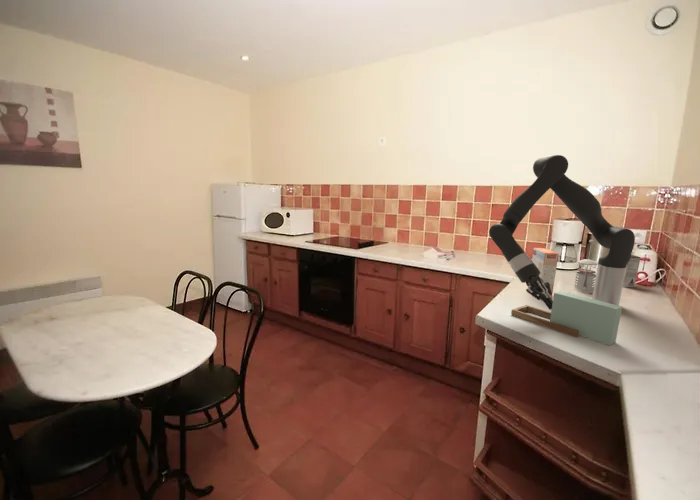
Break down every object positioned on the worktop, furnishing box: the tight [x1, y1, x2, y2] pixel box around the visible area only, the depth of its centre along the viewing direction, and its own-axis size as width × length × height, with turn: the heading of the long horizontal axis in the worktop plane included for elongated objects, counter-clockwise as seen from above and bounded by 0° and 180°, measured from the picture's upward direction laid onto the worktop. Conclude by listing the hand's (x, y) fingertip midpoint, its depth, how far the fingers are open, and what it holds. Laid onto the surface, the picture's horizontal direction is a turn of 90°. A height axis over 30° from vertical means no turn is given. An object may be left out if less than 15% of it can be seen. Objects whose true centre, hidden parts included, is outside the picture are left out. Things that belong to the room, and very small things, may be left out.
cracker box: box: [531, 247, 559, 300], centre depth 148 cm, size 14×6×21 cm, turn 168°
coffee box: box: [622, 254, 642, 288], centre depth 167 cm, size 9×6×16 cm
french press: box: [571, 239, 598, 294], centre depth 155 cm, size 10×12×25 cm
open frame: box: [511, 304, 580, 338], centre depth 118 cm, size 10×22×2 cm, turn 33°
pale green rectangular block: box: [549, 290, 623, 346], centre depth 108 cm, size 4×18×12 cm, turn 33°
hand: (553, 308), depth 116 cm, fingers closed
